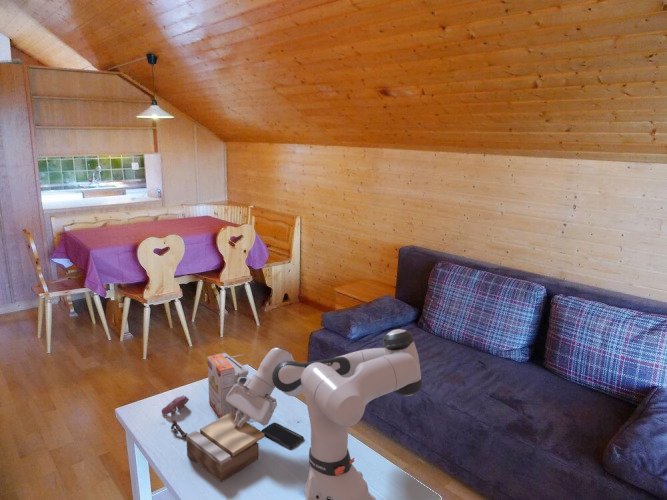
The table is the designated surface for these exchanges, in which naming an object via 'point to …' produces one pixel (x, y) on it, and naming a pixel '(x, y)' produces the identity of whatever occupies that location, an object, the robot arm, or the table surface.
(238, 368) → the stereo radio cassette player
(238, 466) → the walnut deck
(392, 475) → the table surface
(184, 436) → the wooden post with brackets
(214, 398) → the cracker box
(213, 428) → the oak plank
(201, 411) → the table surface
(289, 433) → the phone
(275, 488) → the table surface
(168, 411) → the video game controller
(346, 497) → the robot arm
